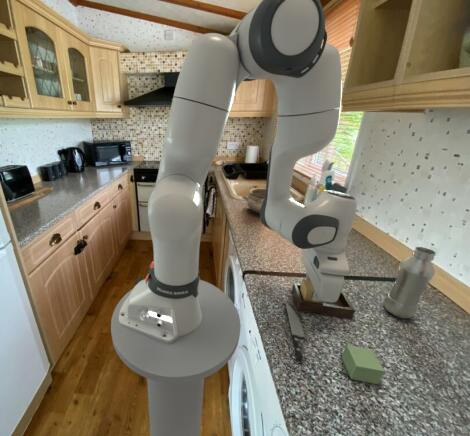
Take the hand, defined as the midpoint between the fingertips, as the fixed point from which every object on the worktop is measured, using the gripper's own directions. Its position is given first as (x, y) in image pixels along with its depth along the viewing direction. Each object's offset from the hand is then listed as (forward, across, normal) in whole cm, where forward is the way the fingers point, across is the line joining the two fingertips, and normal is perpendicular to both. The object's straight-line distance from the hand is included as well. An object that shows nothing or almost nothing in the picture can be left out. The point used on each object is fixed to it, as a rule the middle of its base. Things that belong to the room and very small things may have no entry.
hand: (312, 292), depth 69 cm
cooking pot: (+4, -71, -6) cm, 71 cm away
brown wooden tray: (+4, 0, +3) cm, 5 cm away
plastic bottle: (+4, -1, +23) cm, 23 cm away
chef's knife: (+4, +11, -6) cm, 13 cm away
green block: (+4, +20, +5) cm, 21 cm away
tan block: (+2, 0, 0) cm, 2 cm away
